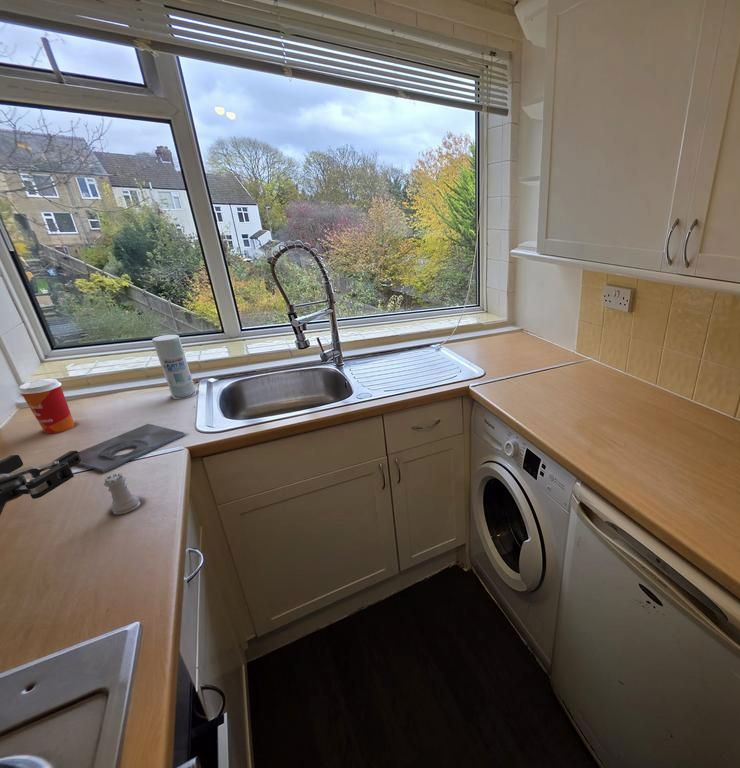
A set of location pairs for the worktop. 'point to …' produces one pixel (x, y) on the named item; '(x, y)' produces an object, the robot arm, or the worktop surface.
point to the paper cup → (48, 404)
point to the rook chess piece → (121, 494)
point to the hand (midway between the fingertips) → (48, 457)
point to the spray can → (174, 366)
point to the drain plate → (138, 438)
